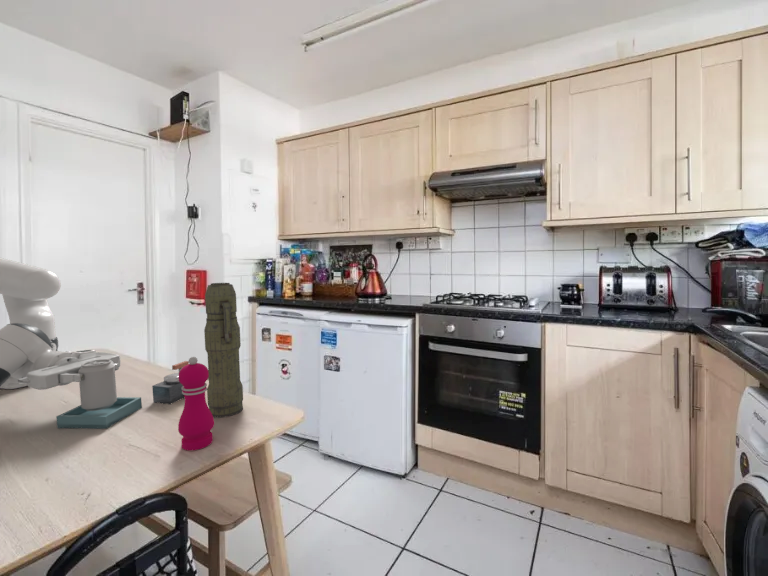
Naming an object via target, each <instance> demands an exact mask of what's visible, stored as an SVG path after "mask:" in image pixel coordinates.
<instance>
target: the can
mask: <svg viewBox="0 0 768 576" xmlns="http://www.w3.org/2000/svg"><path fill="white" fill-rule="evenodd" d="M81 366H82V367H81V368H80V369H79V371H78V372H79V373H83V374H84V375H85V376H84V378H85V380H83V381H80V382H78V384H79V395H80V405H81V407H82V408H83V409H85V410H87V411H97V410H102V409H105V408H108V407H110V406H112V405H113V404H114V403H115V402H116V401H117V397H118V395H117V381H116V371H115V365H114V364H112V363H111V360H109V359H100V360H93V361H88V362H85V363H83V364H81Z"/></svg>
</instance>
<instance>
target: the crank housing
mask: <svg viewBox="0 0 768 576" xmlns="http://www.w3.org/2000/svg"><path fill="white" fill-rule="evenodd" d="M188 364H189V360H184V361H182V362H178V363H175V364H173V365H172V366H171V368H172V369H171V370H172V371H174V370H175V371H176V370H178V372H174V373H170V374H167V375H165V376H164V377H163V381H161V382H158V383H156V384H153V385H152V387H151V388H152V400H153V401H152V402H153V403H155V404H162V403H163V405H164V404H165V405H172V404H174V403H176V402H178V400H179V401H180V399H181V400H182V398H183V399H185V398H184V395H183V394H182V387H183V385H182V384H181V383H180V382H179V378H178V377H179V372H180V370H181V369H182V368H183V367H184V366H186V365H188ZM171 403H172V404H171Z"/></svg>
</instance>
